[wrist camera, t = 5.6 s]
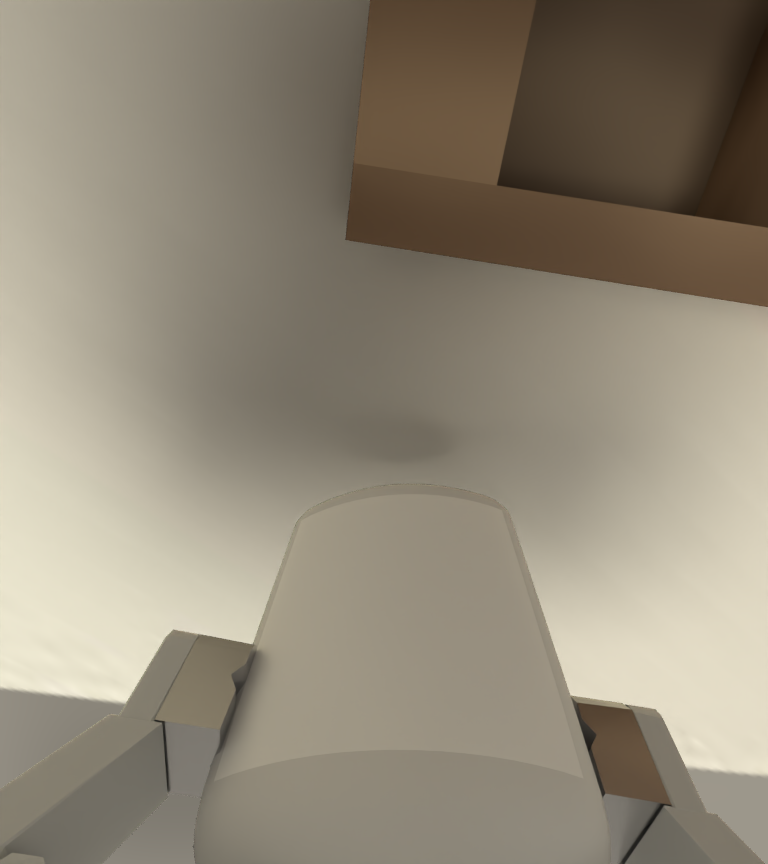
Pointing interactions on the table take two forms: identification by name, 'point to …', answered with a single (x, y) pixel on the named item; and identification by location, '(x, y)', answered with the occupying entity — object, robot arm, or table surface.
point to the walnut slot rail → (570, 138)
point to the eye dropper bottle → (403, 701)
